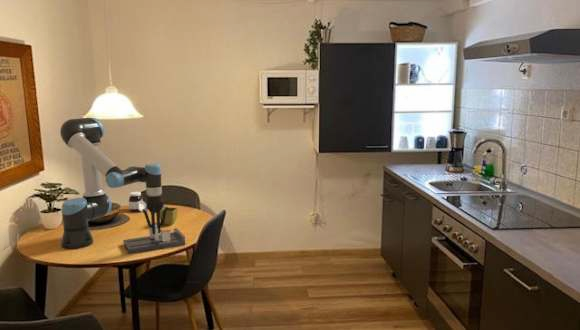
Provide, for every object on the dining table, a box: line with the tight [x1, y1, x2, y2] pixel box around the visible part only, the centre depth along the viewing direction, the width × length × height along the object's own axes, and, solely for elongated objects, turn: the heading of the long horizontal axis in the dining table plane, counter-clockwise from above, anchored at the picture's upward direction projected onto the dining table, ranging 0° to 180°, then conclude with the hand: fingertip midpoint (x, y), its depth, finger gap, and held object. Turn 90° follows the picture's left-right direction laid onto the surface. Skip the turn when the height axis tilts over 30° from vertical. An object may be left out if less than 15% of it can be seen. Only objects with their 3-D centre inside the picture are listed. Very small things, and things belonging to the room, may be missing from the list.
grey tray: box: [122, 227, 186, 255], centre depth 241 cm, size 28×16×5 cm, turn 119°
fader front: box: [159, 227, 171, 242], centre depth 239 cm, size 4×4×6 cm
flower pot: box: [160, 207, 179, 226], centre depth 276 cm, size 9×9×9 cm
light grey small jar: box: [148, 223, 160, 239], centre depth 244 cm, size 4×4×6 cm
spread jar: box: [128, 191, 147, 213], centre depth 306 cm, size 12×11×12 cm
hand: (156, 239), depth 237 cm, fingers closed
